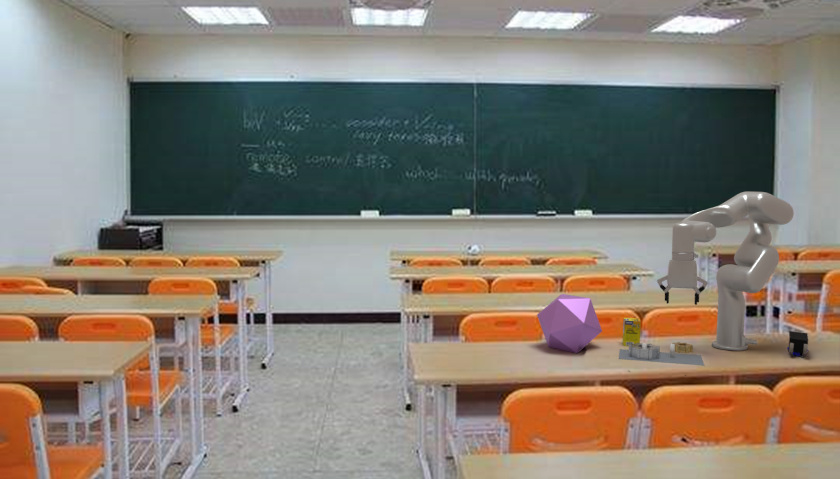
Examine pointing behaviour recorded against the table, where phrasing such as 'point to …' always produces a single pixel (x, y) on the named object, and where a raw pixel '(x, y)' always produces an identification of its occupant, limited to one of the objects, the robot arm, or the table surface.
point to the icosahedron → (569, 323)
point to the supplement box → (631, 331)
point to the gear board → (667, 357)
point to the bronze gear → (683, 347)
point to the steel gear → (644, 351)
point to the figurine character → (798, 343)
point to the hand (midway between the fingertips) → (681, 303)
